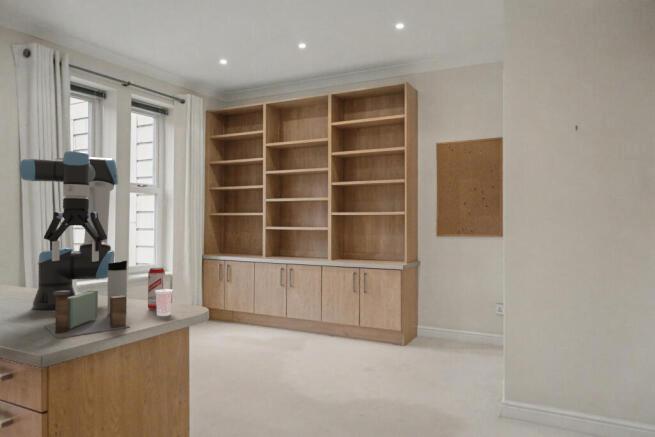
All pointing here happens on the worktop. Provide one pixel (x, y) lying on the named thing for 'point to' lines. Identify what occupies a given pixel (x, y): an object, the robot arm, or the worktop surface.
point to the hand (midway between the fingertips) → (75, 261)
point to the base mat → (86, 328)
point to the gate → (82, 308)
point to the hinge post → (61, 311)
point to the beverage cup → (163, 300)
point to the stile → (117, 311)
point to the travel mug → (117, 281)
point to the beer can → (154, 285)
